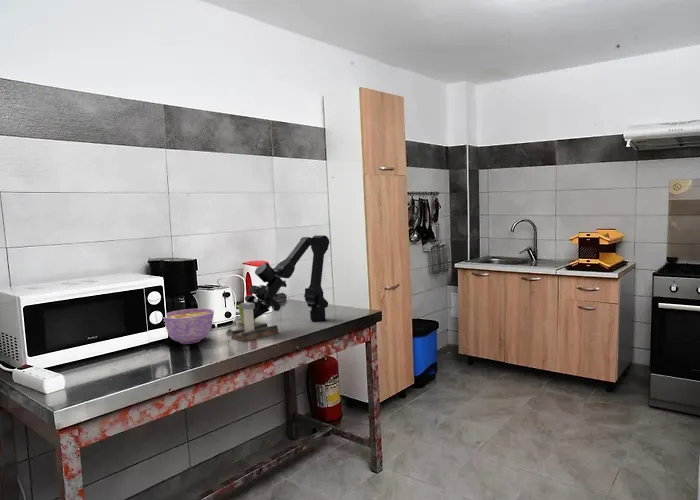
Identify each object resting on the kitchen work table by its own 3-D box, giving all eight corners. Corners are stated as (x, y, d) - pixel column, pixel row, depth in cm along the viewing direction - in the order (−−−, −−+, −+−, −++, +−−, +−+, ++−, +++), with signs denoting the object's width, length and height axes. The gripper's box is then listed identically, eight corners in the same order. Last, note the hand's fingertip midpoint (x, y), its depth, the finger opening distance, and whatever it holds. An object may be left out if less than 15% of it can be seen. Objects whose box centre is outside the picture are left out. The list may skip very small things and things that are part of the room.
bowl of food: (165, 338, 212) (163, 311, 211) (214, 333, 218) (212, 306, 217) (162, 350, 193) (160, 320, 192) (217, 344, 199) (215, 315, 198)
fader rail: (265, 330, 219) (264, 323, 219) (278, 333, 213) (277, 325, 212) (231, 338, 207) (231, 330, 206) (244, 341, 200) (243, 333, 200)
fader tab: (249, 330, 210) (247, 302, 210) (256, 331, 207) (254, 303, 206) (242, 331, 208) (240, 303, 207) (249, 333, 205) (248, 304, 204)
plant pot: (261, 321, 239) (260, 302, 238) (255, 325, 230) (254, 306, 229) (241, 321, 240) (240, 303, 239) (235, 326, 231) (234, 307, 230)
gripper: (246, 276, 217) (226, 306, 210) (273, 278, 204) (252, 310, 197) (262, 291, 223) (243, 321, 216) (289, 295, 210) (269, 326, 203)
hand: (251, 319), depth 208 cm, fingers closed
